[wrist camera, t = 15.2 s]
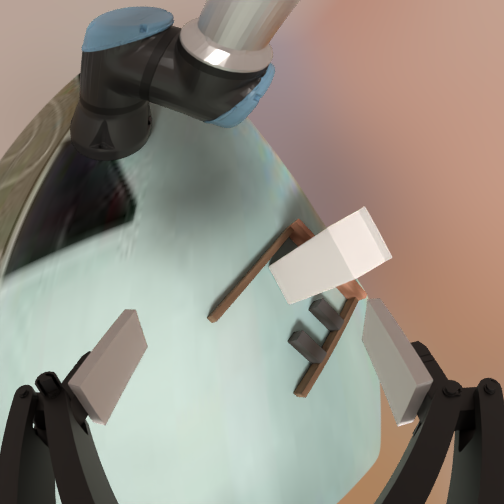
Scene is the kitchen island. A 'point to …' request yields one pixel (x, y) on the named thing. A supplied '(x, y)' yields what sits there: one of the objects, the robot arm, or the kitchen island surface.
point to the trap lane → (318, 309)
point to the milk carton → (331, 258)
